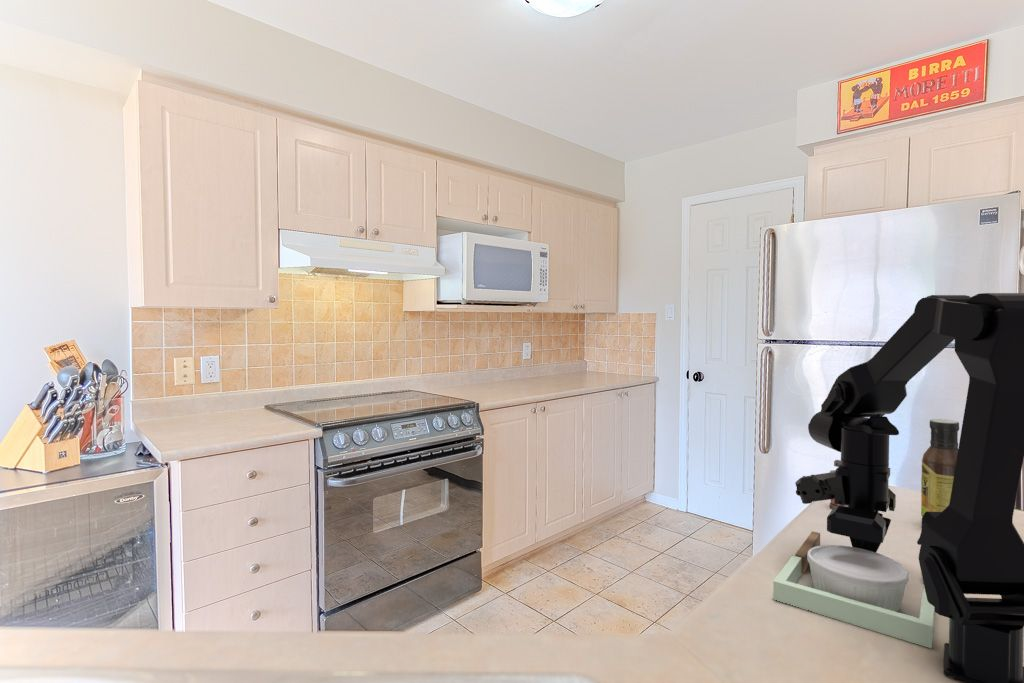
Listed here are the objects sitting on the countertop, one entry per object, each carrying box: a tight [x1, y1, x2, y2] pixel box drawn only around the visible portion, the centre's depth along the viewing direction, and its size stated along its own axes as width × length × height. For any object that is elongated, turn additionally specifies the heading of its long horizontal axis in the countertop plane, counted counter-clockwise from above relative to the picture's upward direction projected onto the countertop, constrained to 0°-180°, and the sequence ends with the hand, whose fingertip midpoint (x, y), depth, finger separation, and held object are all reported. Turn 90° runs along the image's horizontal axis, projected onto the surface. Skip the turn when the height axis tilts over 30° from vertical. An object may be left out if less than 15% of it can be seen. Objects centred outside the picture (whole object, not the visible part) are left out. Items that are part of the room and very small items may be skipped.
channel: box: [794, 531, 924, 584], centre depth 77 cm, size 12×16×3 cm
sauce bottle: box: [920, 418, 960, 517], centre depth 93 cm, size 6×6×20 cm
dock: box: [772, 555, 936, 650], centre depth 68 cm, size 10×16×2 cm, turn 50°
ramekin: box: [807, 544, 909, 612], centre depth 69 cm, size 11×11×5 cm
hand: (862, 568), depth 75 cm, fingers closed
